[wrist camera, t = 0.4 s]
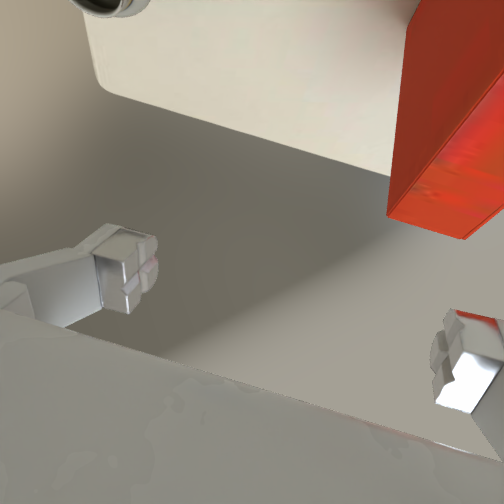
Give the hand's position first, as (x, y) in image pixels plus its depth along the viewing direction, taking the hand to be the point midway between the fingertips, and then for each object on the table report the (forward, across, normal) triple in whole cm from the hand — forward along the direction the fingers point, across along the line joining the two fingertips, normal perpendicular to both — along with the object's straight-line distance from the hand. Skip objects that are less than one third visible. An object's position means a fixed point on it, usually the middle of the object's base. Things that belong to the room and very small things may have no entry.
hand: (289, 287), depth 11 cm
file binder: (+52, -9, -12) cm, 55 cm away
